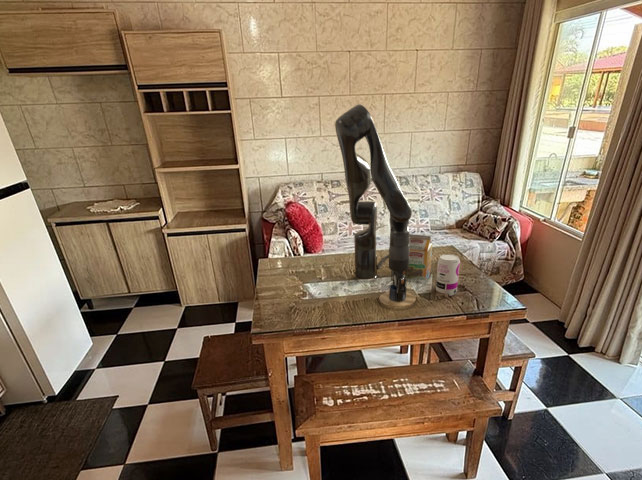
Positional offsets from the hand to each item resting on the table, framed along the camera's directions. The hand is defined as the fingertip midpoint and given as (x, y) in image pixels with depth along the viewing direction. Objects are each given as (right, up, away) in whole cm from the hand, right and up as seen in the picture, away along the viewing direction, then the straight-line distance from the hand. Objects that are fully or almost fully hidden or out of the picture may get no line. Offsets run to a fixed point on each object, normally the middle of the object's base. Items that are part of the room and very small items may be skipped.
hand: (397, 297), depth 157 cm
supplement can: (+21, +2, +7) cm, 22 cm away
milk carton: (+11, +10, +22) cm, 27 cm away
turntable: (0, -2, +1) cm, 2 cm away
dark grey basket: (0, 0, 0) cm, 1 cm away
